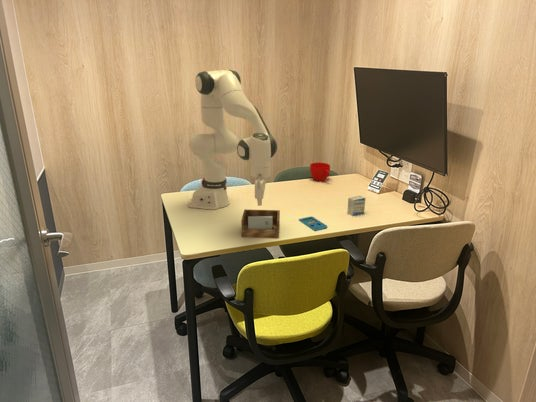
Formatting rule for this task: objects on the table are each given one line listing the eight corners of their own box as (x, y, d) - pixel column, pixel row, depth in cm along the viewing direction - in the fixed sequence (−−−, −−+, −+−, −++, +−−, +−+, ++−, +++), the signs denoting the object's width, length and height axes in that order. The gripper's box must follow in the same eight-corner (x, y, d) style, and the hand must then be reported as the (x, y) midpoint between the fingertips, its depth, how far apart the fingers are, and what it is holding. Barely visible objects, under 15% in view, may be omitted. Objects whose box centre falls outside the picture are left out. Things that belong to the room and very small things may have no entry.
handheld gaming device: (315, 229, 185) (298, 218, 197) (314, 232, 185) (298, 220, 198) (329, 226, 189) (312, 215, 201) (329, 228, 189) (311, 217, 201)
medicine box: (352, 216, 203) (353, 200, 200) (346, 213, 206) (348, 197, 203) (364, 213, 206) (365, 197, 203) (358, 210, 210) (360, 195, 207)
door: (248, 234, 179) (248, 218, 176) (248, 232, 182) (248, 216, 179) (272, 234, 180) (272, 218, 177) (272, 232, 182) (272, 216, 179)
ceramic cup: (319, 185, 248) (320, 170, 244) (305, 178, 262) (306, 163, 258) (336, 183, 253) (337, 168, 249) (322, 175, 267) (323, 161, 263)
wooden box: (241, 236, 179) (241, 220, 177) (244, 224, 192) (244, 209, 189) (278, 237, 179) (279, 221, 176) (279, 225, 191) (279, 210, 188)
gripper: (266, 179, 161) (266, 210, 166) (268, 165, 180) (268, 193, 185) (251, 178, 161) (251, 209, 166) (255, 164, 180) (255, 193, 185)
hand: (260, 201), depth 176 cm, fingers open, 8 cm apart
